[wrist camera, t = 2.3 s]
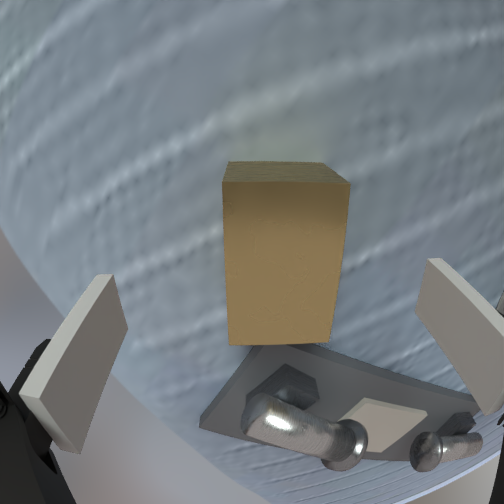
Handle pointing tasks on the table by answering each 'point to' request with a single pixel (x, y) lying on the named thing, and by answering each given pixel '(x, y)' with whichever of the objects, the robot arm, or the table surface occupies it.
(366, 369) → the board
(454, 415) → the shaft
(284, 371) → the shaft
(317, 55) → the table surface
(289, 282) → the coupler
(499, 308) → the speckled tin can
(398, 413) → the off-white flat plate
